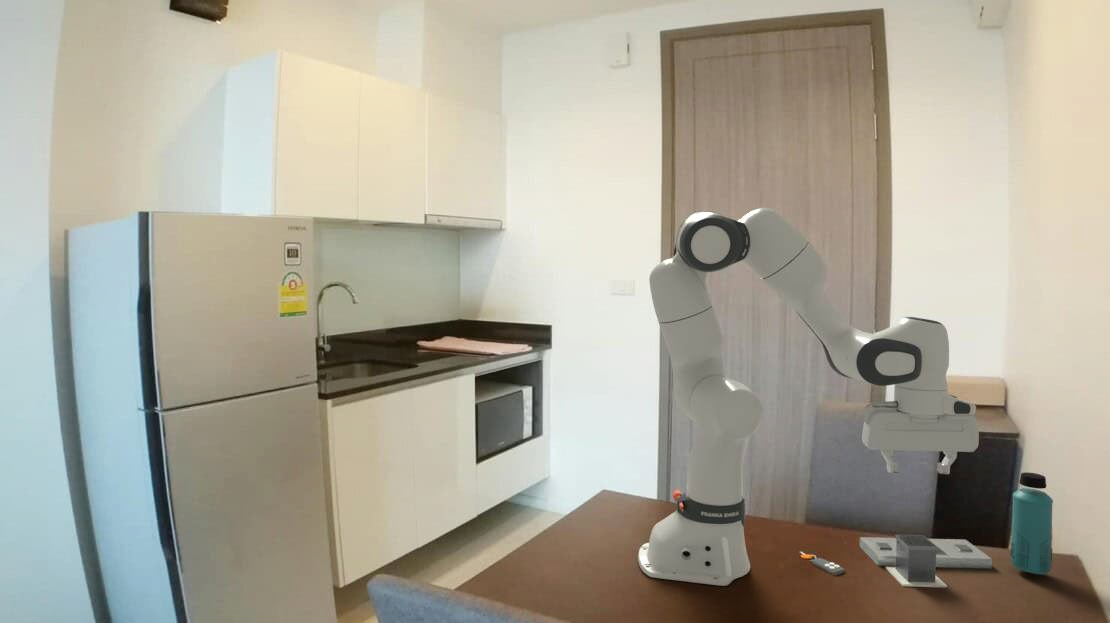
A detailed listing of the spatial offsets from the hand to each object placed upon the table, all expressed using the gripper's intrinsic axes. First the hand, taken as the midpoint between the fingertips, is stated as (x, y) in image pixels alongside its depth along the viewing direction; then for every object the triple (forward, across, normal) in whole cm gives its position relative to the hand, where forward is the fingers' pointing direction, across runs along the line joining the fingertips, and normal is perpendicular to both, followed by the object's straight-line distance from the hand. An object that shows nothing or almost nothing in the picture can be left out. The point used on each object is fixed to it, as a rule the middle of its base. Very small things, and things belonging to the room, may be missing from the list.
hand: (917, 472), depth 120 cm
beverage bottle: (+21, +23, +3) cm, 31 cm away
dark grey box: (+20, 0, 0) cm, 21 cm away
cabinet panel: (+21, +6, +9) cm, 24 cm away
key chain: (+22, -17, +6) cm, 28 cm away
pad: (+21, 0, 0) cm, 21 cm away
